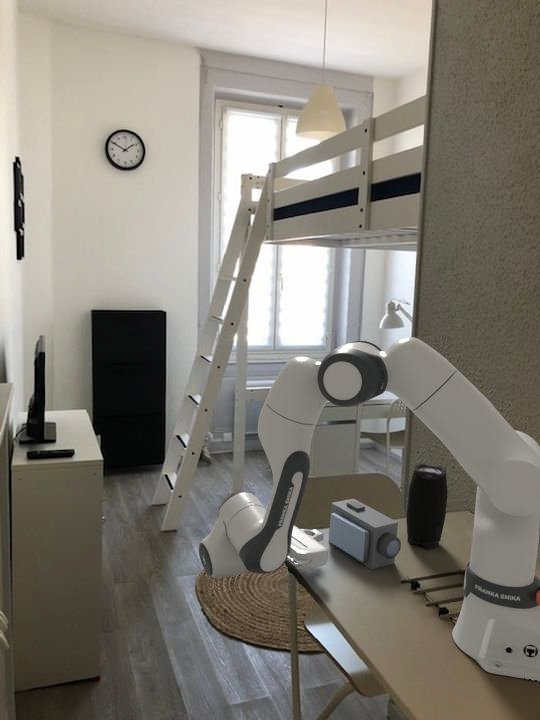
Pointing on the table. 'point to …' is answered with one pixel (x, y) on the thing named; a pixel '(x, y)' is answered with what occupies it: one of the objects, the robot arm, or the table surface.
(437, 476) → the portable speaker
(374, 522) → the camcorder body
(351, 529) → the side panel
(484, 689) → the table surface
